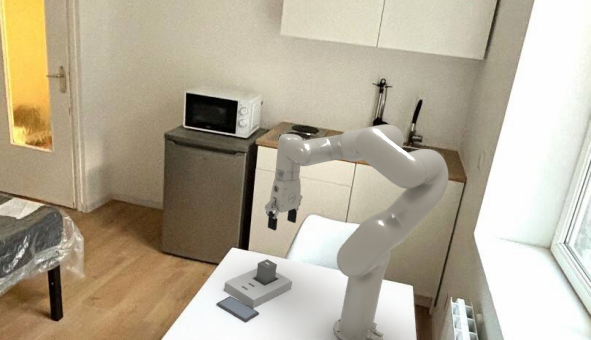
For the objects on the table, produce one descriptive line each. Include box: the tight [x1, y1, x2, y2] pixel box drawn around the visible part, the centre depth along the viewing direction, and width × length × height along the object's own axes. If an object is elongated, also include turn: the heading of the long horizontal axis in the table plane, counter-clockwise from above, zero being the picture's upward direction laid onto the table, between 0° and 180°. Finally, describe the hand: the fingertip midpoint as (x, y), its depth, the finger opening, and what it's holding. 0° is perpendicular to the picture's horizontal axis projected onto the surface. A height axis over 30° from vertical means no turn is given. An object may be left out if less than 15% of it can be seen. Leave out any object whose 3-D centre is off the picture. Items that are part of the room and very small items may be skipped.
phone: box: [216, 295, 260, 323], centre depth 145 cm, size 12×6×1 cm, turn 54°
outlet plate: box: [223, 268, 293, 309], centre depth 157 cm, size 13×18×3 cm
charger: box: [256, 258, 278, 286], centre depth 158 cm, size 4×4×8 cm
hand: (281, 225), depth 154 cm, fingers open, 9 cm apart
